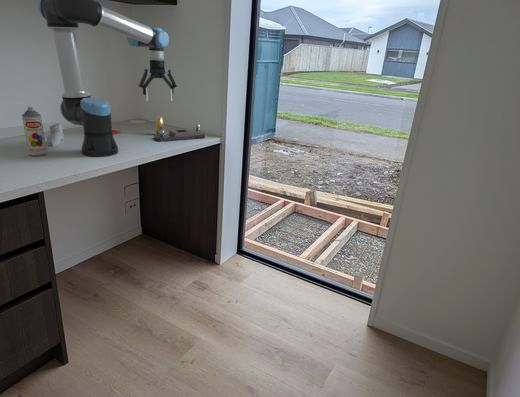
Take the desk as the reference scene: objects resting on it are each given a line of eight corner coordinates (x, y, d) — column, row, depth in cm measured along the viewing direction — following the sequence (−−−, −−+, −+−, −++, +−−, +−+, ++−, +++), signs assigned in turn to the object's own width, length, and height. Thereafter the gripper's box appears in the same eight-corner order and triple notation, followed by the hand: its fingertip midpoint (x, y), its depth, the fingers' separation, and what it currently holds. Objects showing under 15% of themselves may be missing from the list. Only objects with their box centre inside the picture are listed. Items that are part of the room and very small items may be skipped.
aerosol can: (29, 157, 151) (20, 108, 144) (28, 153, 156) (19, 106, 149) (48, 155, 155) (40, 108, 147) (46, 151, 160) (38, 105, 152)
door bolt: (160, 141, 190) (159, 128, 187) (154, 138, 197) (153, 125, 194) (204, 138, 204) (204, 125, 201) (197, 135, 211) (197, 123, 208)
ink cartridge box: (47, 147, 168) (44, 125, 164) (59, 141, 178) (56, 121, 175) (53, 147, 168) (49, 126, 164) (64, 142, 178) (61, 122, 175)
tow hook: (109, 131, 209) (100, 133, 200) (108, 108, 205) (98, 109, 196) (123, 132, 208) (114, 135, 199) (121, 109, 204) (113, 111, 195)
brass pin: (157, 135, 203) (157, 117, 199) (155, 134, 206) (154, 116, 202) (164, 135, 205) (164, 117, 202) (162, 133, 208) (161, 116, 205)
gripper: (176, 60, 200) (177, 99, 208) (130, 58, 187) (134, 100, 195) (181, 60, 195) (182, 101, 203) (135, 59, 181) (138, 102, 189)
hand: (158, 100), depth 199 cm, fingers open, 13 cm apart
